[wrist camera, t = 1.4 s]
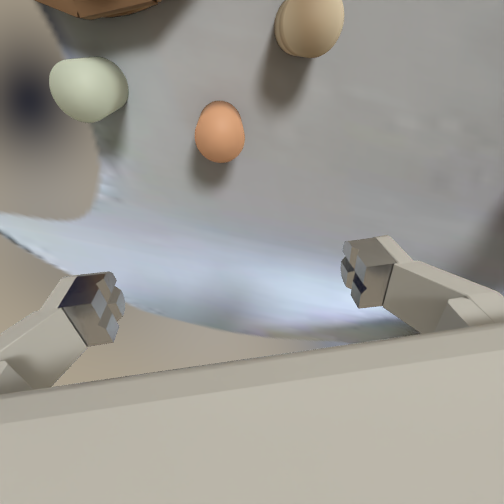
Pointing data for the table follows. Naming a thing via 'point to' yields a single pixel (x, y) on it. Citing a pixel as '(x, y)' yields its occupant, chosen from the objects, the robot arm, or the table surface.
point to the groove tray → (99, 7)
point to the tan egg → (308, 26)
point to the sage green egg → (88, 88)
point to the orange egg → (219, 132)
